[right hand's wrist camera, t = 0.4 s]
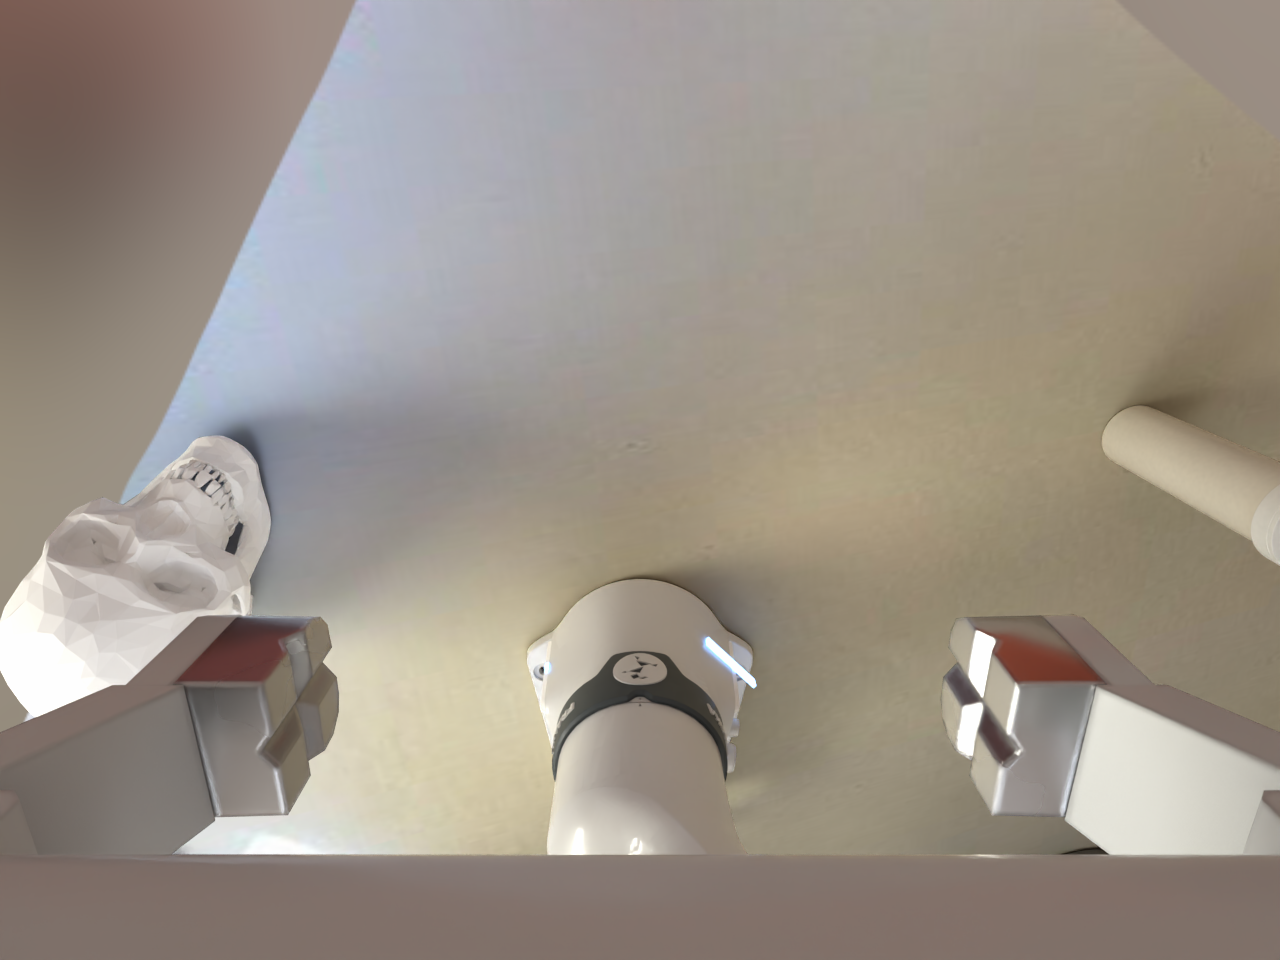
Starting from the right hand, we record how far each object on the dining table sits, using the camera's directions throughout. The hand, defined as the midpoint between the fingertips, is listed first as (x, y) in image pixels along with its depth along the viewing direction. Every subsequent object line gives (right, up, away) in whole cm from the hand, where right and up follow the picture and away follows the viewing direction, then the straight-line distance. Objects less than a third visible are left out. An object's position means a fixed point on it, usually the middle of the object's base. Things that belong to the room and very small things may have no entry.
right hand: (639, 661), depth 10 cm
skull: (-35, -3, +52) cm, 63 cm away
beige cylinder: (+37, +6, +49) cm, 62 cm away
